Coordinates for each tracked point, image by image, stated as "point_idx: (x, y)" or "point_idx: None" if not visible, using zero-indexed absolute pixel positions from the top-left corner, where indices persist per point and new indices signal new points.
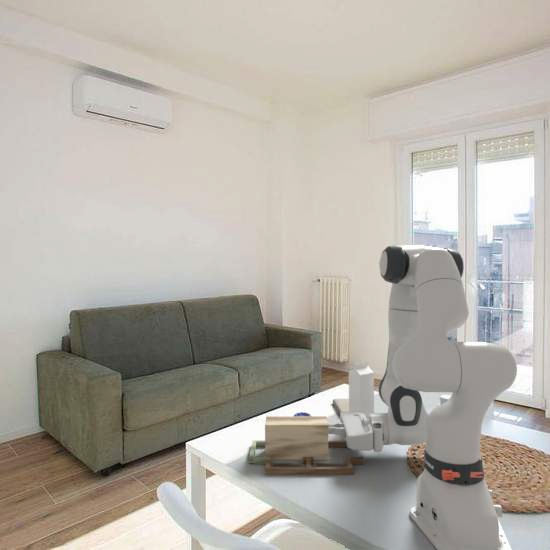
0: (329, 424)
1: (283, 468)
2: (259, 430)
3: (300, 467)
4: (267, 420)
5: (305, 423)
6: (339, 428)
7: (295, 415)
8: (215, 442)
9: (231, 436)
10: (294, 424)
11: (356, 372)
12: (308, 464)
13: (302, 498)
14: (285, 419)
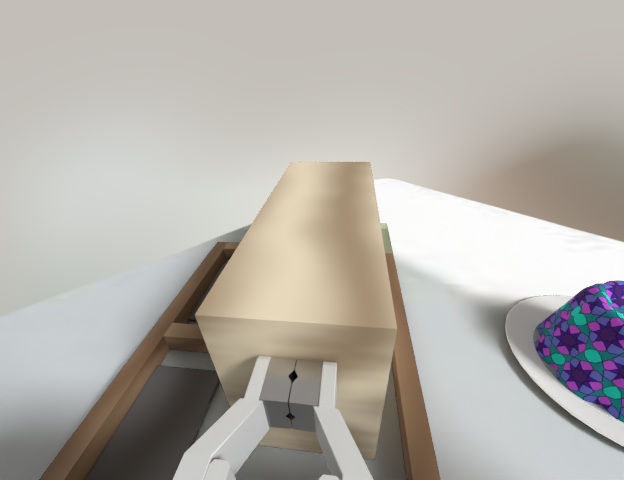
0: (330, 374)
1: (199, 270)
2: (499, 243)
3: (179, 306)
4: (331, 164)
5: (273, 226)
6: (198, 445)
7: (615, 283)
8: (392, 194)
9: (431, 208)
10: (274, 202)
11: None
12: (186, 329)
13: (50, 311)
14: (337, 186)
